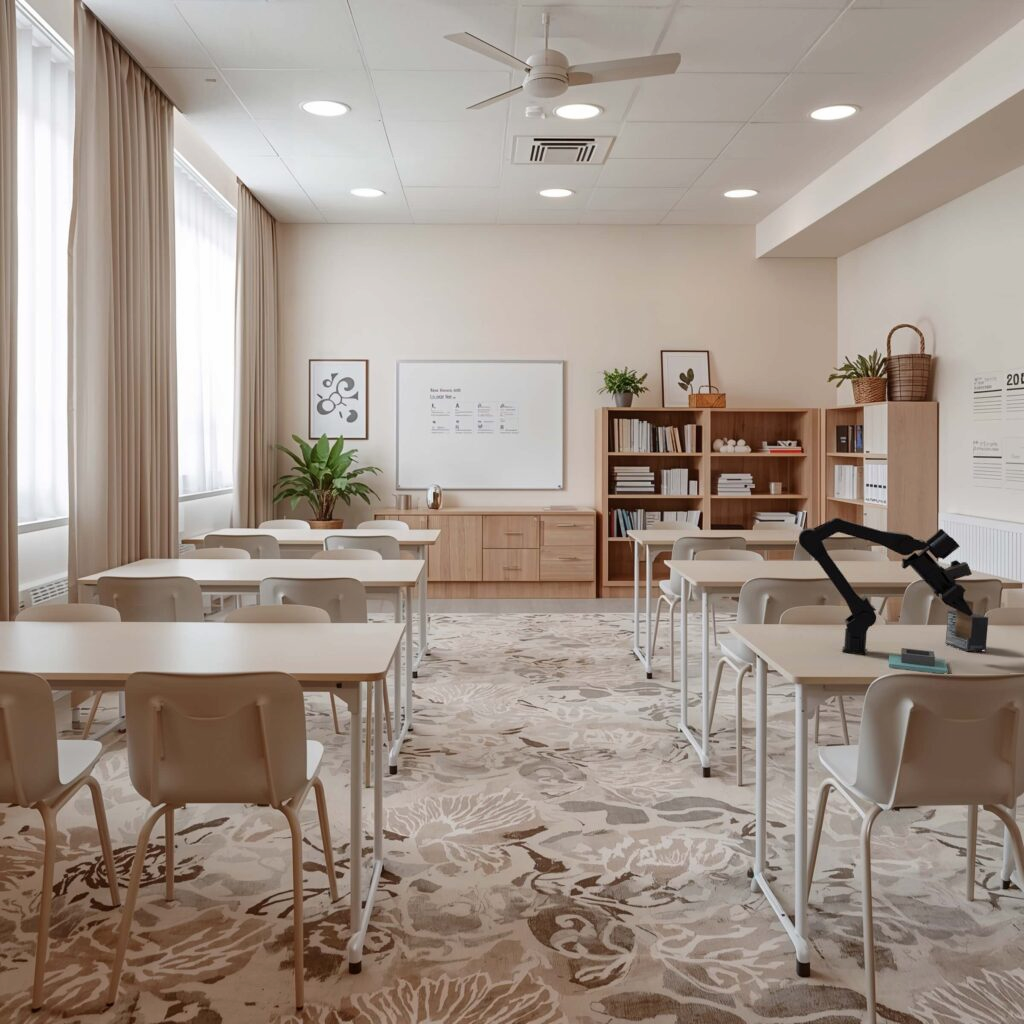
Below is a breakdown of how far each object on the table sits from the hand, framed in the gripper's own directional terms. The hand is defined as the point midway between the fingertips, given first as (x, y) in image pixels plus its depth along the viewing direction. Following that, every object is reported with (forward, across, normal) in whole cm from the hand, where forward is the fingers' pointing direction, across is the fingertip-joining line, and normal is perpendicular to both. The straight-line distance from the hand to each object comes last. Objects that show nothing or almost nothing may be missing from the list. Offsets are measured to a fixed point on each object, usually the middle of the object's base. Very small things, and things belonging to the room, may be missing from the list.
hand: (970, 613), depth 246 cm
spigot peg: (+4, 0, +6) cm, 7 cm away
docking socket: (0, -10, +19) cm, 22 cm away
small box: (+12, +21, +7) cm, 25 cm away
